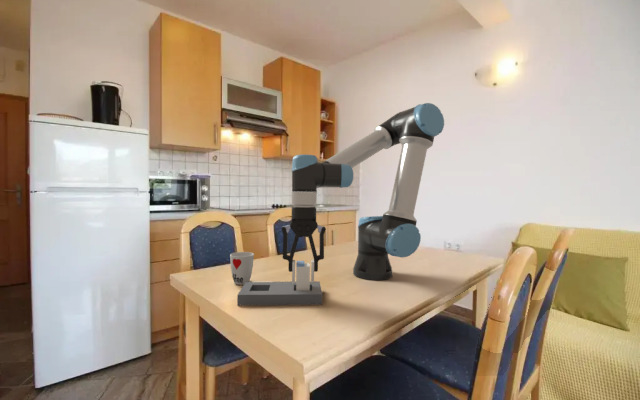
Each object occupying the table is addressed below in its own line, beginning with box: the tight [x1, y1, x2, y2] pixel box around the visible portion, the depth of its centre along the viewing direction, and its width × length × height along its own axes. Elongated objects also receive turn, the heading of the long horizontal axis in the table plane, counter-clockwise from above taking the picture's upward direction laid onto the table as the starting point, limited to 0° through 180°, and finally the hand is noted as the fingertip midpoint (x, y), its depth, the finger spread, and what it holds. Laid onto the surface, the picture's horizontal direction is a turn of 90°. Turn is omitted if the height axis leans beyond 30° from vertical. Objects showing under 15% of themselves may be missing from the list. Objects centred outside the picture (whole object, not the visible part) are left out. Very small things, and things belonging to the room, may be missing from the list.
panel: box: [236, 280, 323, 306], centre depth 89 cm, size 24×12×3 cm, turn 93°
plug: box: [295, 260, 311, 291], centre depth 90 cm, size 4×4×11 cm
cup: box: [229, 251, 255, 286], centre depth 103 cm, size 8×8×10 cm
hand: (303, 281), depth 90 cm, fingers open, 5 cm apart
